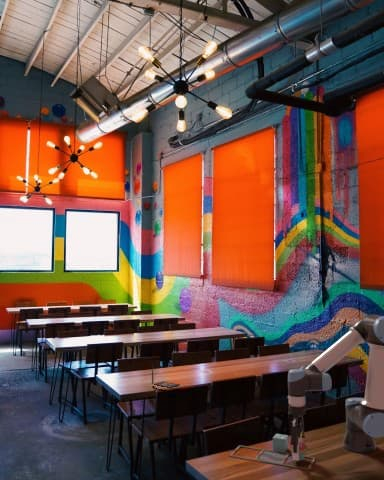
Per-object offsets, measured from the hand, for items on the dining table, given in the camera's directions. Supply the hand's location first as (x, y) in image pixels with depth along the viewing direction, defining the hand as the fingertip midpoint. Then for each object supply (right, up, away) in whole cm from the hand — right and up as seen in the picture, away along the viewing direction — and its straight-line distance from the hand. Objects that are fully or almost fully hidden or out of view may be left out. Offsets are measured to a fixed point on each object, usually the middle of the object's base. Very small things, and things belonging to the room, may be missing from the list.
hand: (298, 456), depth 210 cm
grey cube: (-5, -4, +15) cm, 16 cm away
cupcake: (0, -1, 0) cm, 1 cm away
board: (-11, -3, +5) cm, 12 cm away
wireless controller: (-68, -12, +132) cm, 149 cm away
